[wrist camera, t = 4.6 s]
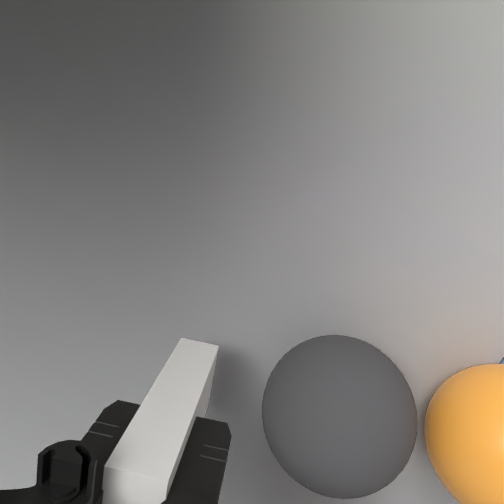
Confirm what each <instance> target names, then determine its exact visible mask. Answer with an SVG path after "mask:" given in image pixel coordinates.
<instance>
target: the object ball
mask: <svg viewBox="0 0 504 504" xmlns="http://www.w3.org/2000/svg"><path fill="white" fill-rule="evenodd" d="M424 436H425V443H426V449H427V452H428V455H429V458H430V461H431V464H432V466H433V468H434V470H435V472H436V474H437V476H438V477H439V479H440V480H441V482H442V484H443V485H444V486H445V487H446V489H447V490H448V491H449V492H450V493H451V495H452V496H453V497H454V498H455V499H456V500H457V501H458V502H459V503H460V504H504V364H482V365H477V366H473V367H470V368H467V369H464V370H461V371H459V372H457V373H456V374H454V375H452V376H451V377H450V378H448V379H447V380H446V381H445V382H444V383H442V385H441V386H440V387H439V388H438V389H437V390H436V392H435V393H434V395H433V397H432V398H431V401H430V403H429V405H428V408H427V412H426V416H425V424H424Z"/></svg>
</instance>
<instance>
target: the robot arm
mask: <svg viewBox="0 0 504 504" xmlns="http://www.w3.org/2000/svg"><path fill="white" fill-rule="evenodd" d="M218 349H219V346H218V345H213V344H208V343H204V342H199V341H194V340H190V339H185V338H181V339H180V340H179V342H178V344H177V345H176V347H175V349H174V350H173V352H172V354H171V355H170V357H169V359H168V360H167V362H166V364H165V365H164V367H163V369H162V370H161V372H160V374H159V375H158V377H157V379H156V380H155V382H154V384H153V385H152V387H151V389H150V390H149V392H148V394H147V395H146V397H145V399H144V400H143V402H142V404H141V405H138V404H134V403H129V402H125V401H120V400H117V401H116V402H114V403H113V404H111V405H109V406H108V407H106V408H105V409H104V410H103V411H102V413H101V414H100V415H99V417H98V418H97V420H96V422H95V423H94V424H93V425H92V426H91V428H90V429H89V432H88V433H86V435H85V436H84V437H83V439H82V440H81V441H76V440H67V441H61V442H57V443H55V444H53V445H50V446H48V447H46V448H45V449H44V450H43V451H42V452H40V453H39V454H38V464H37V482H36V485H35V486H33V487H30V488H23V489H12V490H0V504H218V500H219V495H220V490H221V485H222V481H223V476H224V471H225V466H226V461H227V456H228V451H229V446H230V441H231V433H230V430H229V427H228V424H227V423H224V422H219V421H215V420H211V419H206V418H205V415H206V412H207V409H208V406H209V400H210V394H211V389H212V383H213V377H214V372H215V366H216V361H217V355H218Z"/></svg>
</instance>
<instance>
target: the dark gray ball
mask: <svg viewBox="0 0 504 504" xmlns="http://www.w3.org/2000/svg"><path fill="white" fill-rule="evenodd" d="M262 418H263V425H264V431H265V434H266V438H267V441H268V443H269V446H270V448H271V450H272V452H273V454H274V456H275V457H276V459H277V460H278V462H279V463H280V465H281V466H282V467H283V469H284V470H285V471H286V472H287V473H288V474H289V475H290V476H291V477H292V478H293V479H295V480H296V481H297V482H298V483H300V484H301V485H303V486H304V487H306V488H308V489H310V490H311V491H314V492H316V493H318V494H321V495H324V496H328V497H332V498H341V499H349V498H359V497H363V496H367V495H370V494H372V493H375V492H377V491H379V490H380V489H382V488H384V487H385V486H387V485H388V484H389V483H391V482H392V481H393V480H394V479H395V478H396V477H397V476H398V475H399V473H400V472H401V471H402V470H403V469H404V467H405V465H406V464H407V462H408V460H409V458H410V456H411V453H412V451H413V448H414V444H415V440H416V435H417V413H416V406H415V402H414V398H413V395H412V392H411V390H410V387H409V385H408V383H407V381H406V380H405V378H404V376H403V374H402V373H401V371H400V370H399V369H398V367H397V366H396V365H395V364H394V363H393V362H392V361H391V360H390V359H389V358H388V357H387V356H386V355H385V354H383V353H382V352H381V351H380V350H378V349H377V348H375V347H374V346H372V345H370V344H368V343H366V342H364V341H361V340H358V339H355V338H351V337H347V336H339V335H327V336H321V337H316V338H313V339H310V340H307V341H305V342H303V343H300V344H299V345H297V346H296V347H294V348H293V349H291V350H290V351H289V352H288V353H287V354H285V355H284V356H283V357H282V359H281V360H280V361H279V362H278V363H277V365H276V366H275V368H274V370H273V371H272V373H271V375H270V377H269V379H268V382H267V384H266V388H265V391H264V396H263V404H262Z"/></svg>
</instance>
